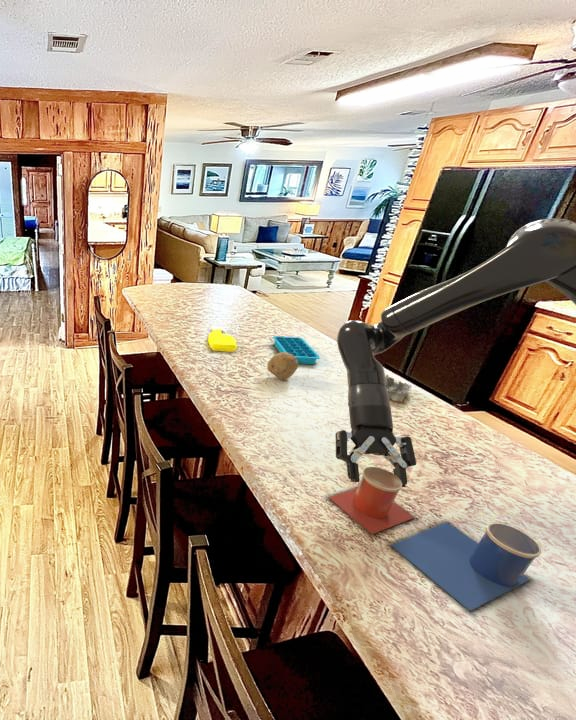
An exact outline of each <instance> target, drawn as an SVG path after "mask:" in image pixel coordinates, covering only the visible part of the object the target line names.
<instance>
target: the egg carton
mask: <svg viewBox="0 0 576 720" xmlns="http://www.w3.org/2000/svg"><path fill="white" fill-rule="evenodd" d="M385 379H386V387H387V391H388V394H389V399H390V400H392V401H394V402H400V403H402V402H403V401H404V399H405V397H406V395H407V394H408V393H409V391H410V390H411V388H412V384H408V383H407V382H405V383H403V382H402V381H401V380H399V381H398V382H397V381H395V379H394V378H393V377H392V376H389V374H385Z"/></svg>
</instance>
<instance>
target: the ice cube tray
mask: <svg viewBox="0 0 576 720" xmlns="http://www.w3.org/2000/svg"><path fill="white" fill-rule="evenodd" d="M272 339H273V340H274V343H273V344H274V347H275V348H276V350H278V353H280V352H287V353H290V354H292V355H293V356H294V357H295V358H296V359H297V361H298V364H300V365H301V364H303V365H315V364H316V362H317V360H319V359H320V358H321V356H320V354H318V353H317V352H316V351H315V350H314V348H312V347H311V346H310V345H309V343H308V342H306V340H305V339H304V338H303V337H299V336H277V335H275V336H273V337H272Z"/></svg>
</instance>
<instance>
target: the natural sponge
mask: <svg viewBox="0 0 576 720" xmlns="http://www.w3.org/2000/svg"><path fill="white" fill-rule="evenodd" d="M298 367H299V363H298V361H297V359H296V358H295V357H294V356H293V355H292V354H290V353H287V352H277V353H275V354H274V355H273V356H272V357H271V358H270V359H269V361H268V362H267V371H268V372H269V373H271V374H272V375H273V376H274V377H276V379H277V380H280V381H285V380H288V379H290V378H291V377H293V375H294V374H295V372H296V371H297V369H298Z"/></svg>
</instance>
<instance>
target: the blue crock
mask: <svg viewBox="0 0 576 720" xmlns="http://www.w3.org/2000/svg"><path fill="white" fill-rule="evenodd" d="M477 543H478V545H477V547H476V548H475V550H474V551H473V553H472V555H471V556H470V559H469V560H470V563H471V565H472V567H473V568H474V569H475V570H476V571H477V572H478V573H479V574H481V575H482V576H483V577H485V578H486V579H488V580H490V581H492V582H494V583H496V584H499V585H503V586H514V585H516V583H517V582H518V581H519V579H520V578H521V577H522V575H525V572H526V571H527V570H528V569H529V567H530V566H531V564H532V563H533V562H534V560H536V558H539V557H540V556H541V554H542V552H543V551H542V547H541V546H540V544H539V543H538V542H537V541H536V540H535V539H534V538H533V537H531V536H530V535H529V534H528V533H526V532H524V531H523V530H521V529H519V528H516V527H515V526H512V525H509V524H506V523H501V522H490V523H489V524H487V526H486V527H485V532H484V534H483V536H481V538H480V540H479V542H477Z"/></svg>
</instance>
